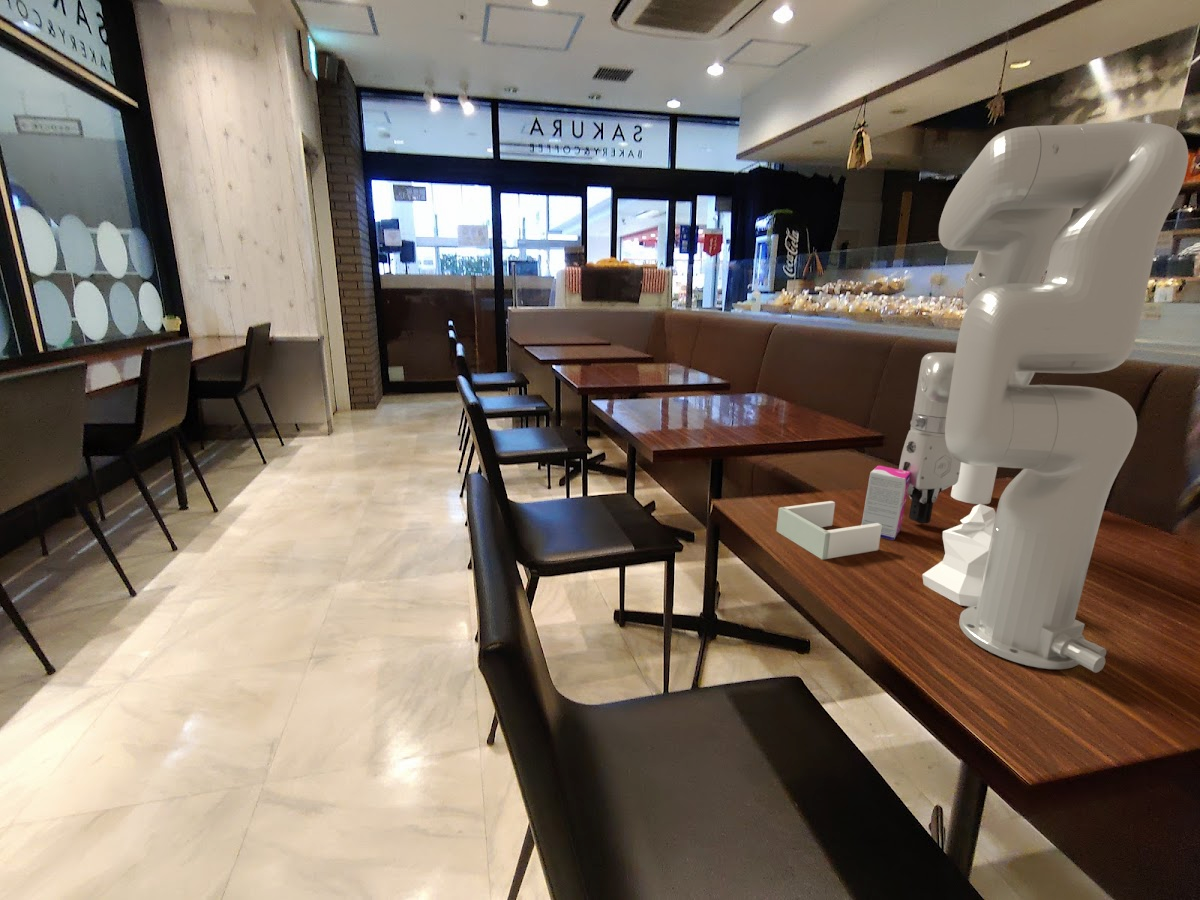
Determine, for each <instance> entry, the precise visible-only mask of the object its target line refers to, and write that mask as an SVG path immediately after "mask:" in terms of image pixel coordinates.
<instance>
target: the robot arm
mask: <svg viewBox="0 0 1200 900" xmlns="http://www.w3.org/2000/svg"><path fill="white" fill-rule="evenodd" d="M1188 165H1189V149H1188V145H1187V141H1186V139H1185V137H1184V136H1183V134H1182V133H1181V132H1180V131H1179V130H1178V129H1176V128H1175V127H1171V125H1170V126H1169V125H1166V124H1163V123H1162V124H1161V123H1156V122H1155V123H1153V122H1138V121H1137V122H1133V121H1132V122H1127V121H1126V122H1095V123H1094V122H1092V123H1078V124H1055V125H1053V124H1052V125H1034V126H1033V125H1030V126H1029V125H1028V126H1018V127H1014V128H1013V127H1012V128H1010V129H1007V130H1003V131H1001V132H1000V133H998V134H996V135H995V136H994V137H993V138H991V139H990V141H988V142H987V144H985V146H984V147H983V149H982V150H981V151H980V153H979V154H978V155H977V157H976V158H975V160H973V162H972V163H971V164H970V166H969V168H968V169H966V171H965V172H964V174H963V175H962V176H961V178H960V179H959V181H958V182H956V183H957V184H956V185H955V187H954V188H953V189H952V191H951V193H950V195H949V196H948V198H947V201H946V202H945V204H944V208H943V211H942V213H941V217H940V220H939V223H938V239H939V242H940V244H941V246H943V248H945V249H946V250H948V251H963V252H964V251H965V252H966V251H967V252H968V251H973V252H975V251H976V252H977V251H978V252H977V255H976V257H975V259H974V263H973V265H972V268H971V271H970V273H969V275H968V278H967V281H966V283H965V286H964V288H963V291H962V298H963V299H962V300H964V303H965V304H966V305H967V306H968V307H967V309H966V310H965V313H964V316H963V318H962V320H961V324H960V327H959V332H958V337H957V341H956V348H955V352H938V351H937V352H929V353H927V354H925V355H924V356H923V357H922V358H921V362H920V367H919V371H918V372H919V373H918V379H917V385H916V392H915V400H914V403H913V404H914V406H913V411H912V416H911V420H910V422H909V423H910V430H908V433H907V435H906V439H905V441H904V445H903V448H902V451H901V455H900V461H899V465H898V466H899V467H898V469H899V470H905V471H910V472H911V476H910V481H909V487H908V492H907V495H908V496H909V499H910V500H911V503H910V508H909V515H908V518H909V519H910V520H912V521H914V522H917V523H918V524H921V525H924V524H930V523H931V519H932V518H931V517H932V511H933V508H934V507H933V506H934V503H935V502H937V499H938V496H939V494H940V493H941V492H943V491H944V490H947V489H948V488H950V487H952V486H953V485H955V484H956V483H957V482H958V479H959V473H960V466H961V462H962V463H966V464H970V465H977V466H990V467H997V468H1006V469H1007V468H1009V469H1021V471H1020V472H1019V473H1018V474H1016V476H1015V477H1014V478H1013V479H1012V480H1011V481H1010V482H1009V483H1008V484H1007V486H1006V487H1005V489H1004V490H1003V491H1002V493H1001V495H1000V498H999V500H998V504H997V508H996V511H995V512H996V517H995V522H994V527H993V531H992V536H991V541H990V546H989V551H988V556H987V561H986V565H985V570H984V575H983V580H982V585H981V590H980V594H979V599H978V604H977V606H972V607H970V606H968V607H967V608H965V609H964V610H962V611H961V612H960V614H959V615H960V616H959V619H958V620H959V621H958V622H959V623H958V624H959V627H960V629H961V631H962V633H963V634H964V635H965V636H966V637H967V638H968V639H969V640H971V641H972V642H973V643H974V644H975V645H977V646H979V647H980V648H981V649H984V650H986V651H988V653H991V654H993V655H995V656H998V657H999V658H1002V659H1005V660H1008V661H1009V662H1010V661H1011V662H1012V663H1017V664H1020V665H1023V666H1024V665H1025V666H1028V667H1033V668H1036V669H1044V670H1045V669H1046V670H1066V669H1072V668H1074V667H1077V666H1079V665H1080V666H1083V667H1084V668H1086V669H1087V670H1090V671H1091V672H1093V673H1099V672H1100V671H1102V670H1103V669H1104V667H1105V665H1106V658H1105V657H1106V655H1107V649H1106V648H1105V647H1103V646H1101V645H1098V644H1097V643H1095V642H1091V641H1089V640H1087V639H1086V637H1085V636H1084V635H1083V632H1084V628H1085V623H1084V622H1081V621H1080V620H1078V619H1076V617H1077V613H1078V608H1079V604H1080V601H1081V598H1082V593H1083V590H1084V584H1085V580H1086V578H1087V573H1088V570H1089V569H1088V568H1089V566H1090V561H1091V558H1092V554H1093V549H1094V547H1095V542H1096V538H1097V535H1098V532H1099V528H1100V524H1101V520H1102V517H1103V514H1104V510H1105V506H1106V503H1107V499H1108V498H1109V495H1110V491H1111V489H1112V486H1113V484H1114V482H1115V480H1116V478H1117V476H1118V474H1119V472H1120V471H1121V468H1123V467H1122V466H1123V465H1124V463H1125V461H1126V459H1127V457H1128V455H1129V454H1130V451H1131V449H1132V448H1133V445H1134V442H1135V439H1136V437H1137V432H1138V420H1137V416H1136V413H1135V410H1134V408H1133V407H1132V405H1131V404H1130V403H1129V402H1128V401H1127V400H1126V399H1125V398H1123V397H1122V396H1120V395H1119V394H1117V393H1114V392H1112V391H1109V390H1105V389H1102V388H1097V387H1090V386H1081V385H1065V384H1063V385H1062V384H1059V385H1058V384H1030V383H1031V382H1032V379H1033V378H1034V375H1035V374H1036V373H1040V374H1041V373H1044V374H1045V373H1046V374H1096V373H1103V372H1108V371H1111V370H1114V369H1116V368H1118V367H1120V365H1122V364H1123V363H1125V361H1126V360H1127V359H1128V358H1129V356H1130V354H1131V352H1132V350H1133V348H1134V345H1135V341H1136V338H1137V336H1138V335H1137V334H1138V331H1139V327H1140V323H1141V319H1142V318H1141V317H1142V313H1143V309H1144V305H1145V300H1146V294H1147V290H1148V285H1149V281H1150V276H1151V272H1152V267H1153V261H1154V257H1155V251H1156V246H1157V243H1158V239H1159V236H1160V233H1161V231H1162V228H1163V226H1164V223H1165V222H1166V220H1167V217H1168V215H1169V213H1170V211H1171V209H1172V207H1173V205H1174V204H1175V201H1176V200H1177V198H1178V196H1179V193H1180V191H1181V189H1182V187H1183V184H1184V181H1185V177H1186V174H1187V170H1188ZM1074 209H1079V210H1078V211H1077V212H1076V213H1074V215H1072V214H1073V210H1074ZM1045 274H1046V275H1045ZM1044 275H1045V278H1044ZM1043 278H1044V281H1043ZM1042 281H1043V282H1042ZM1041 282H1042V283H1041Z"/></svg>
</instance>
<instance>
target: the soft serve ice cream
mask: <svg viewBox="0 0 1200 900" xmlns="http://www.w3.org/2000/svg"><path fill="white" fill-rule="evenodd" d="M996 512H997V511H995V508H993V507H990V506H987V505H986V504H976V505H974V506H973V507H972V509H971V511H970V513H969V514H968V515H966V516H964V517H963V518H961V519H960V520H959V521H960V522H961V524H957V525H956V526H955V525H954V526H953V527H950V528H948V529H945V530H943V531H942V541H943V547H944V553H945V554H944V556H943V558H942V560H941V561H939V562H938V563H937V564H935V565H934V566H932V567H931V568H929V569H928V570H927V571H925V572H924V573H922V581H923V582H922V583H923V586H925V587H926V588H928V589H930V590H932V591H934V592H936V593H937V594H939V595H941V596H943V598H946V599H949V600H950V601H952V602H954V603H955V604H957V605H959V606H964V607H972V606H977V604H978V599H979V594H980V590H981V585H982V580H983V575H984V570H985V565H986V561H987V556H988V551H989V546H990V541H991V536H992V531H993V527H994V522H995V517H996Z"/></svg>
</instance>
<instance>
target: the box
mask: <svg viewBox="0 0 1200 900" xmlns="http://www.w3.org/2000/svg"><path fill="white" fill-rule="evenodd" d="M835 507H836V502H835V501H833V500H828V501H820V502H813V503H805V504H797V505H791V506H781V507H778V514H777V521H776V532H777V533H778V534H781V535H782V536H783V537H785V538H787V539H788V540H789V541H792V542H793V543H794V544H796V545H798V546H799V547H800V548H802V549H804V550H806V551H808V552H809V553H811V554H812V555H814V556H815V557H817V558H819V559H820V560H828V559H833V558H834V559H835V558H839V557H846V556H852V555H858V554H864V553H869V552H876V551H879V548H880V542H881V541H880V540H881V537H880V535H881V529H882V525H881V524H879V523H873V524H866V525H862V524H860V525H855V526H854V525H853V526H848V527H846V526H845V527H841V528H834V529H828V530H826V529H824V527H825V528H826V527H832V526H833V523H834V514H835Z"/></svg>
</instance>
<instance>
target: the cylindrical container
mask: <svg viewBox="0 0 1200 900" xmlns="http://www.w3.org/2000/svg"><path fill="white" fill-rule="evenodd" d="M997 471H998V467H990V466H977V465H970V464H966V463H962V462H961V466H960V473H959V479H958V482H957V483H956V484H955V485H953V486H951V492H950V497H951V498H953V499H954V500H956V501H960V502H963V503H967V504H971V505H979V504H982V505H989V504H990V503H991V501H992V496H993V491H994V487H995V482H996V477H997Z"/></svg>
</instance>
